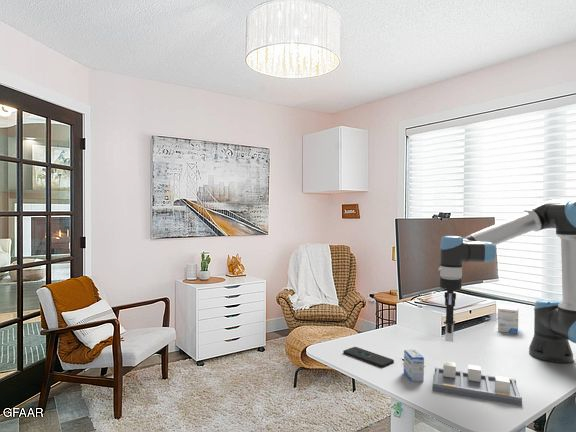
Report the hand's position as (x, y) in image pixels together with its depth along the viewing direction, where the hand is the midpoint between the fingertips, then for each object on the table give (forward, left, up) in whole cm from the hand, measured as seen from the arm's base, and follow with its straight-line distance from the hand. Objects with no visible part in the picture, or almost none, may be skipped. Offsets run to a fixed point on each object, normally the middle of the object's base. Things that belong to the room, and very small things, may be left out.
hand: (449, 340), depth 148 cm
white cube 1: (-16, +14, -10) cm, 23 cm away
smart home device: (+31, -2, -12) cm, 33 cm away
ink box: (-26, -65, -12) cm, 71 cm away
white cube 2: (-8, +7, -10) cm, 15 cm away
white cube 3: (0, +7, -10) cm, 12 cm away
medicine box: (+12, +10, -12) cm, 19 cm away
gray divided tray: (-8, +11, -12) cm, 18 cm away
